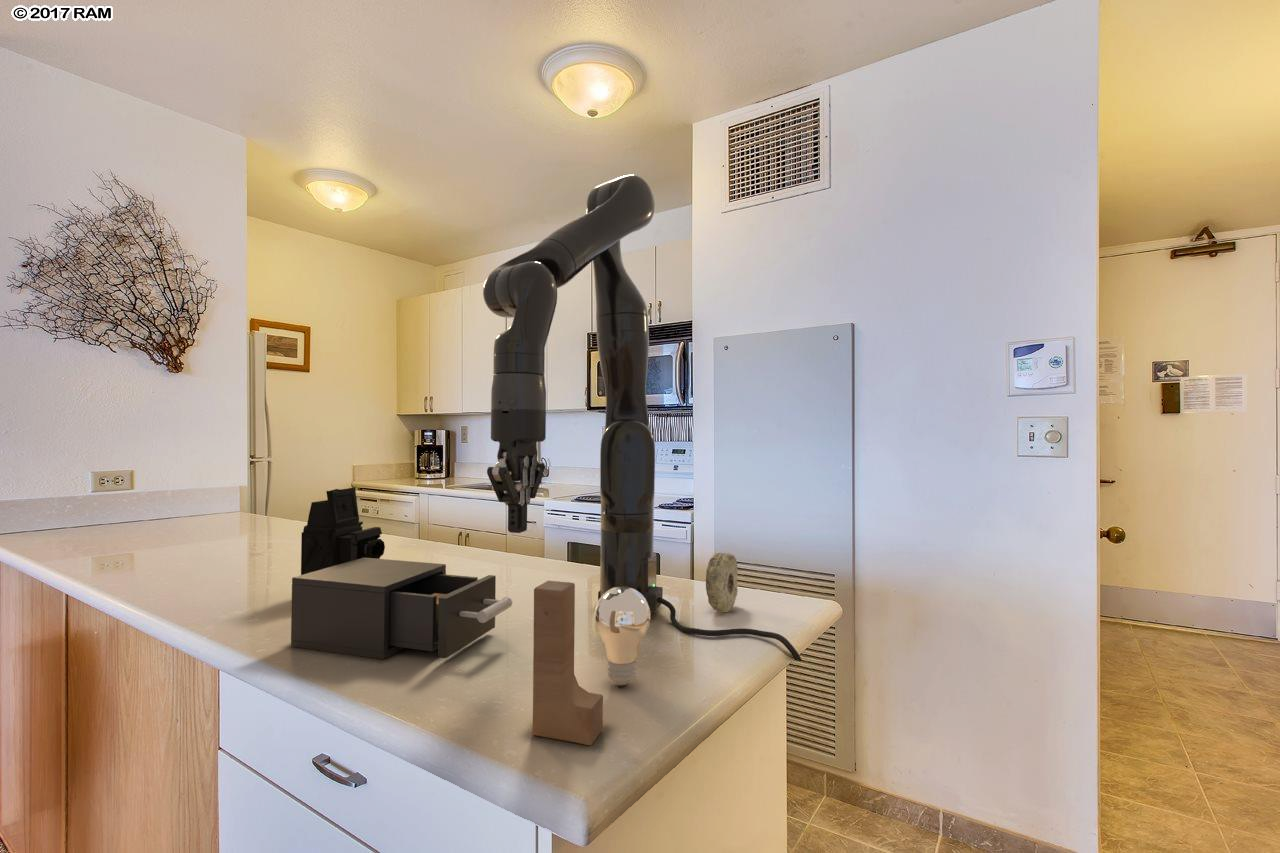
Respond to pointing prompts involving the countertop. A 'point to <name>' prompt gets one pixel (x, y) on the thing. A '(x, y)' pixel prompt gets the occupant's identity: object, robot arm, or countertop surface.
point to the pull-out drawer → (443, 612)
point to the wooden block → (560, 671)
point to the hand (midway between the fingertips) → (517, 531)
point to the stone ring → (722, 581)
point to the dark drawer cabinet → (351, 605)
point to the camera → (337, 533)
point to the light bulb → (622, 630)
